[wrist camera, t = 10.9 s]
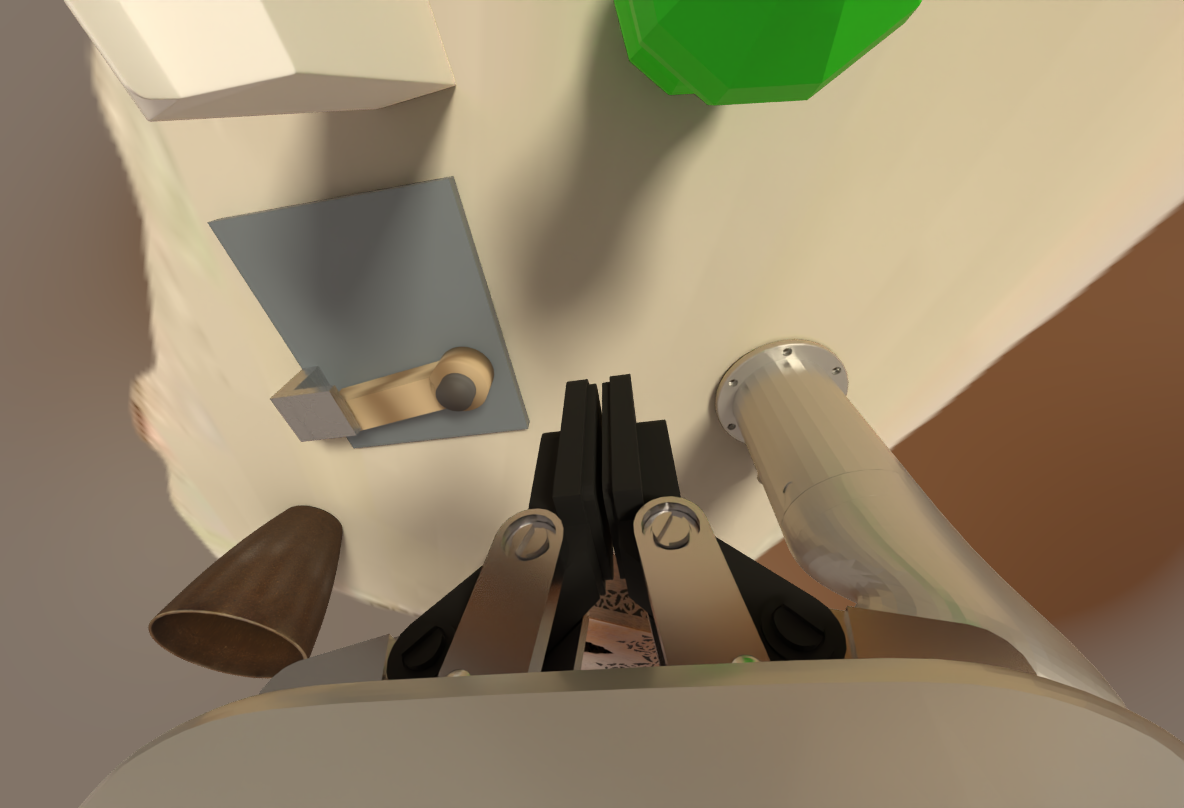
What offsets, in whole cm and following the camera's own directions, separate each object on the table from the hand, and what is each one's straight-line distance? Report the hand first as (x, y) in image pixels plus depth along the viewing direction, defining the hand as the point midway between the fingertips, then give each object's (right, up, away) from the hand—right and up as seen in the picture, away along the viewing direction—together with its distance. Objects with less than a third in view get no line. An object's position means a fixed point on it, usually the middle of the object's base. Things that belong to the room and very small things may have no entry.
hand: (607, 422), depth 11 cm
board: (-19, +7, +29) cm, 35 cm away
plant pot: (-38, -16, +46) cm, 61 cm away
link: (-17, +2, +30) cm, 35 cm away
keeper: (-25, +3, +32) cm, 41 cm away
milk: (-13, +24, +16) cm, 32 cm away
